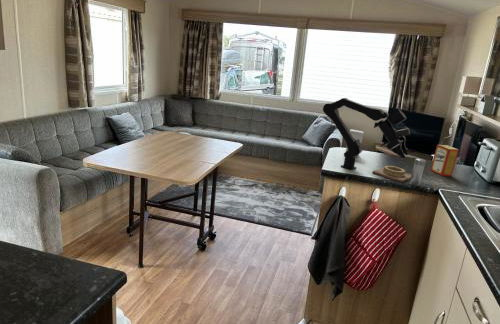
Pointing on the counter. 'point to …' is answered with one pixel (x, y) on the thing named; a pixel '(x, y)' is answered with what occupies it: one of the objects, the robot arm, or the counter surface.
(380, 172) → the ring board
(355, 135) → the skincare box
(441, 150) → the baking soda box
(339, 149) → the counter surface
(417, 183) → the piston
